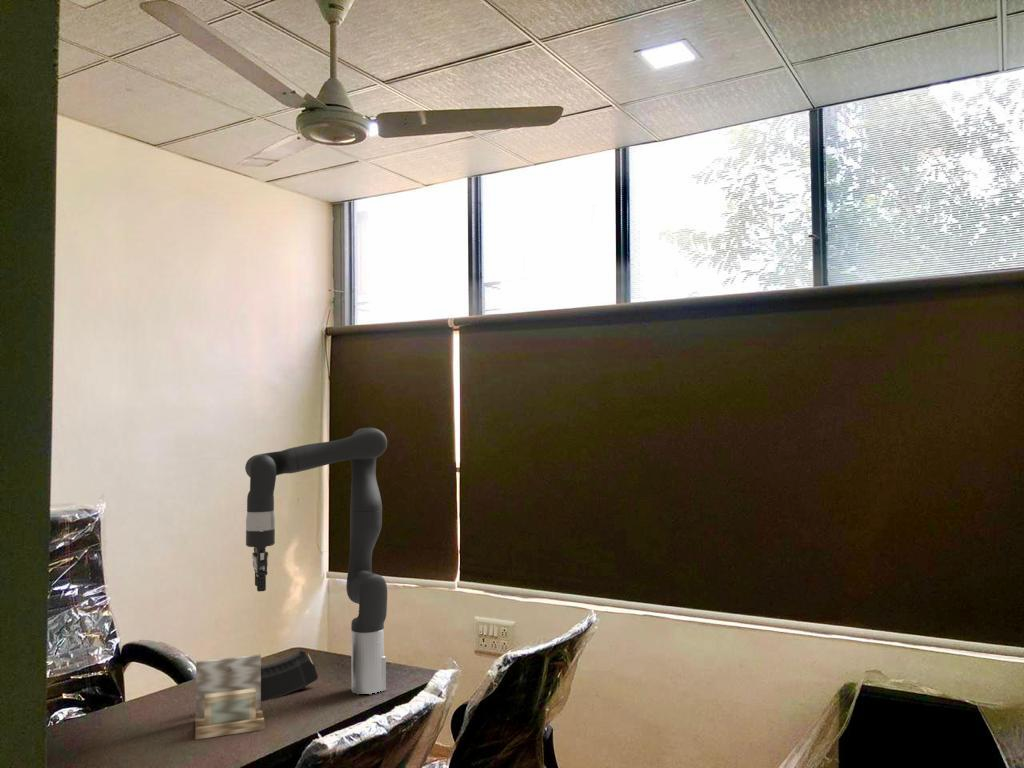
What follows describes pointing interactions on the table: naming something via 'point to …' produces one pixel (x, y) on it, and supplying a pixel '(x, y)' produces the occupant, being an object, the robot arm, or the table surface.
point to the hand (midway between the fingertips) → (260, 588)
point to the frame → (229, 706)
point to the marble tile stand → (223, 679)
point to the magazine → (287, 676)
